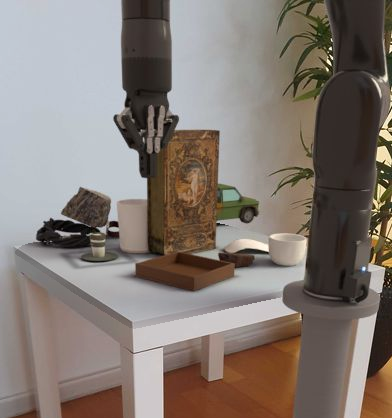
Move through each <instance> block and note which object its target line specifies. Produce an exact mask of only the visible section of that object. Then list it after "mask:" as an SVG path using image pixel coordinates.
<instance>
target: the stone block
mask: <svg viewBox="0 0 392 418" xmlns="http://www.w3.org/2000/svg"><path fill="white" fill-rule="evenodd" d="M111 204H112V199H111V197H110V196H108V195H107V194H104V193H101V191H100V192H99V191H97V190H93V189H89V188H86V187H82V186H79V188H78V191H77V193H76V194H74V195H73V196H72V197H71V198H70V200H69V201H67V203H66V205H65V206H64V207H63V208H62V210H61V211H60V215H61V216H63V217H66V218H69V219H71V220H72V221H73V220H74V221H76V222H77V223H81V224H85V225H87V226H89V227H94V228H98V229H99V228H101V229H102V228H103V227H106V225H107V222H108V221H109V216H110V213H111V208H112V206H111Z"/></svg>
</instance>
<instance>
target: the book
mask: <svg viewBox="0 0 392 418" xmlns="http://www.w3.org/2000/svg"><path fill="white" fill-rule="evenodd" d="M154 131H155V130H154ZM220 132H221V131H220V130H219V129H175V130H174V132H173V135H172V137H171V139H170V141H169V143H168V145H167V147H166V148H162V149H160V151H159V153H158V154H157V162H158V166H157V167H158V171H157V175H156V177H155V178H146V199H147V223H148V250H149V253H151V254H160V255H161V256H164V255H167V254H171V253H175V252H182V253H187V254H193V253H199V252H204V251H208V250H215V249H216V248H217V247H216V246H217V222H218V221H217V194H218V184H219V162H220V161H219V159H220V135H221V133H220ZM162 138H163V137H162ZM162 138H161V140H162ZM152 140H153V137H152Z"/></svg>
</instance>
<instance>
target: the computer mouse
mask: <svg viewBox="0 0 392 418" xmlns="http://www.w3.org/2000/svg"><path fill="white" fill-rule="evenodd" d="M246 249H254V250H259V251H263V252H268V253H269V247H268V243H264V242H261V241H258V240H255V239H250V238H238V239H235V240H233V241H231V242H229V243H228V244H227V245H226V246H224V251H225V252H226V253H233V254H235V253H237V252H239V251H241V250H246Z"/></svg>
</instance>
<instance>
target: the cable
mask: <svg viewBox="0 0 392 418" xmlns="http://www.w3.org/2000/svg"><path fill="white" fill-rule="evenodd" d="M60 232H62V233H68V234H69V235H61V233H60ZM95 232H101V230H100V229H99V228H98V227H97V228H94V227H91V226H88V225H86V224H83V223H81V222H74V221H73V220H70V219H66V220H64V219H54V218H52V217H50V218H49V220H43V225H42V226H41V227H40V228H39V229H38V230H37V231H36V234H35V240H36V241H38V242H40V243H41V244H44V243H45V244H46V245H49V244H50V243H52V244H54V245H55V246H59V247H62V248H72V247H78V248H84V247H88V246H91V243H90V241H91V240H90V233H95ZM101 233H102V232H101Z"/></svg>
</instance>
